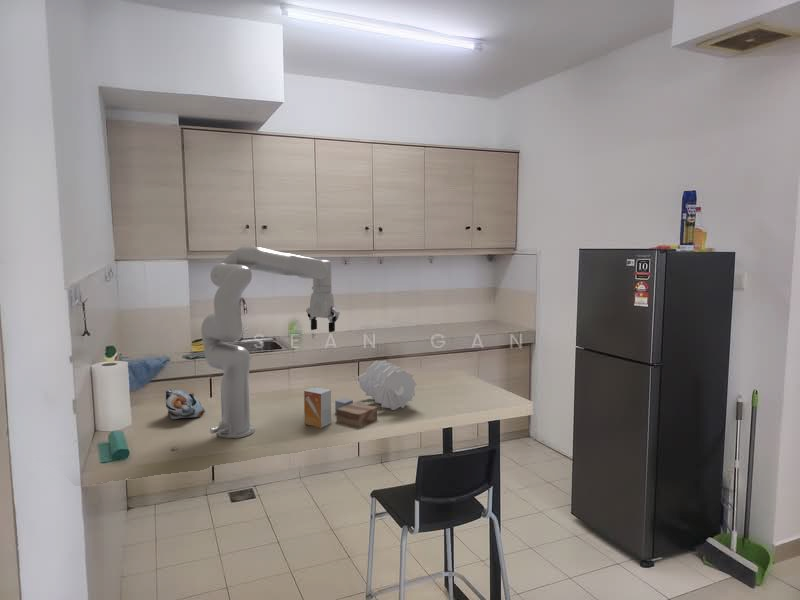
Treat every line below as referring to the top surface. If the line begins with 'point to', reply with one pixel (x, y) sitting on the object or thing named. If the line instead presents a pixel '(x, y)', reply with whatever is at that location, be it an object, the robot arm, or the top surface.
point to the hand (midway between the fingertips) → (322, 330)
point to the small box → (317, 407)
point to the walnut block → (356, 414)
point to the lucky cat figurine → (182, 405)
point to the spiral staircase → (387, 385)
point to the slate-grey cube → (342, 403)
